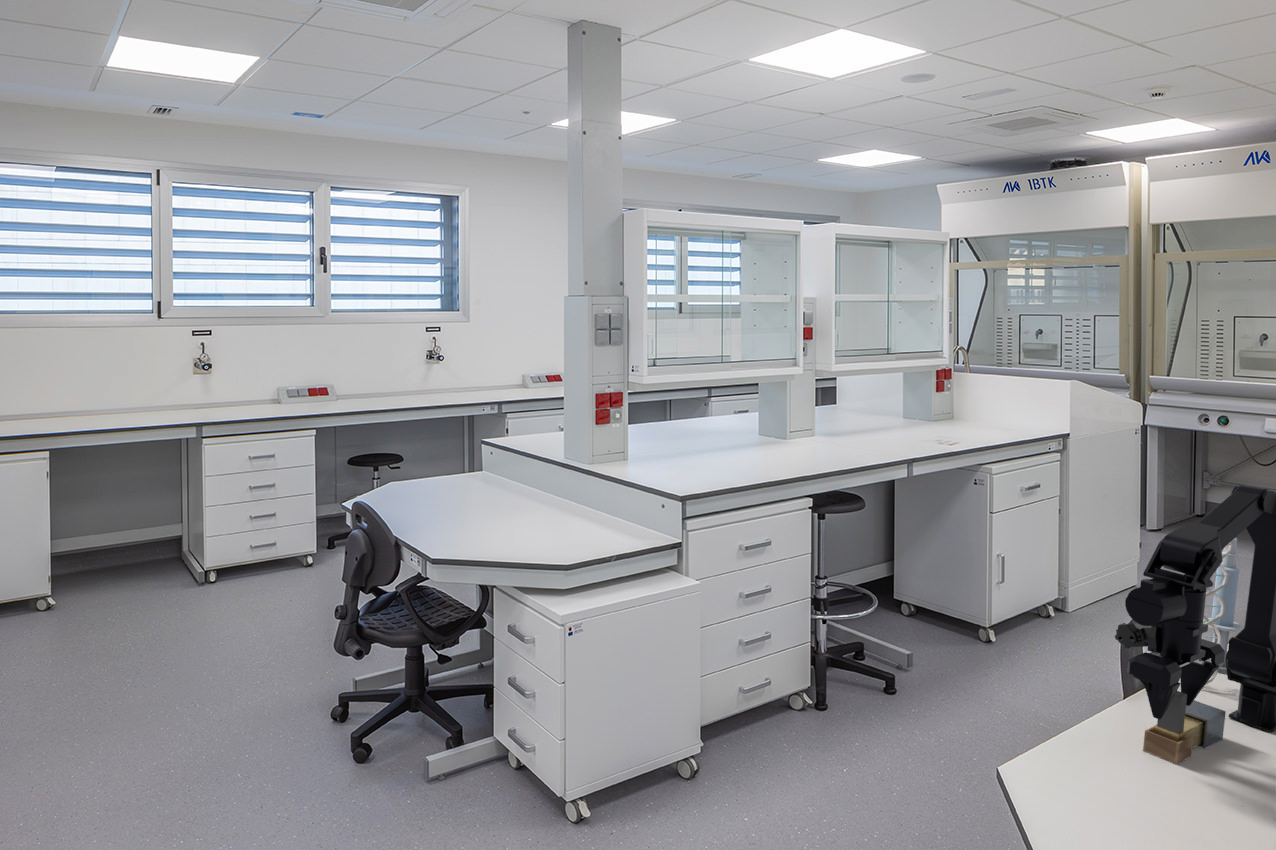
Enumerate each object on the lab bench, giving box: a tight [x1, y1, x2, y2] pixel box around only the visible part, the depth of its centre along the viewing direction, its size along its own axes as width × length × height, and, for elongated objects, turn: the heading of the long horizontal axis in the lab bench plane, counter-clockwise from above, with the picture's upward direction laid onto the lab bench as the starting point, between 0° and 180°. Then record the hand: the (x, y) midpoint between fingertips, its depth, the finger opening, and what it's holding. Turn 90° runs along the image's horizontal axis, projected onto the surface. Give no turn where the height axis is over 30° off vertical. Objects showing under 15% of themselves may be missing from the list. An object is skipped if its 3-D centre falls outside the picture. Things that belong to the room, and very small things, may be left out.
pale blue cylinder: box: [1203, 537, 1243, 674], centre depth 170 cm, size 5×6×35 cm
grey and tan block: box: [1153, 690, 1206, 749], centre depth 137 cm, size 9×4×10 cm, turn 123°
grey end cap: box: [1185, 699, 1227, 749], centre depth 141 cm, size 6×5×5 cm
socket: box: [1142, 726, 1193, 765], centre depth 136 cm, size 5×5×3 cm
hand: (1171, 711), depth 135 cm, fingers open, 9 cm apart
